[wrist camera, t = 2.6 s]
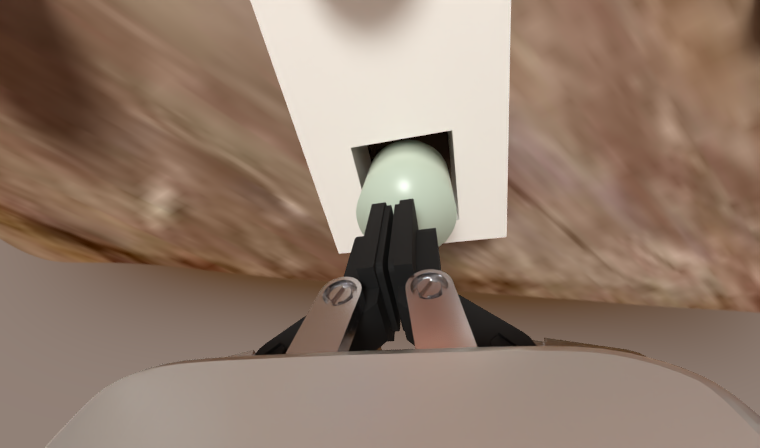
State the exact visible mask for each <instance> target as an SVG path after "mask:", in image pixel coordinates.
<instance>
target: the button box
mask: <svg viewBox="0 0 760 448" xmlns="http://www.w3.org/2000/svg"><path fill="white" fill-rule="evenodd" d="M250 1H251V3H252V6H253V9H254V12H255V15H256V18H257V21H258V23H259V26H260V29H261V32H262V35H263V38H264V41H265V44H266V46H267V49H268V52H269V55H270V58H271V61H272V64H273V66H274V69H275V72H276V75H277V78H278V81H279V84H280V86H281V89H282V92H283V95H284V98H285V101H286V104H287V106H288V109H289V112H290V115H291V118H292V121H293V124H294V126H295V129H296V132H297V135H298V138H299V141H300V144H301V147H302V149H303V152H304V155H305V158H306V161H307V164H308V167H309V169H310V172H311V175H312V178H313V181H314V184H315V187H316V189H317V192H318V195H319V198H320V201H321V204H322V207H323V209H324V212H325V215H326V218H327V221H328V224H329V227H330V229H331V232H332V235H333V238H334V241H335V244H336V247H337V250H338V252H339V254H340V253H350V252H351V250H352V247H353V243H354V240H355V238H356V237H359V236H364V235H363V234H362V232H361V230H360V228H359V225H358V223H357V218H356V207H357V203H358V199H359V197H360V194H361V191H362V188H363V185H364V182H365V180H366V177H367V174H368V171H369V168H370V165H371V159H370V155H369V150H368V146H367V145H370V144H375V143H381V142H387V141H393V140H399V139H404V138H410V137H416V136H422V135H428V134H433V133H439V132H445V131H448V143H449V154H450V166H451V177H452V190H453V194H454V199H455V204H456V210H457V219H456V224H455V227H454V229H453V231H452V233H451V235H450V236H449V238H448V239H447V240H446V241H445V242H444V243H450V242H460V241H471V240H481V239H491V238H501V237H506V235H507V182H508V129H509V75H510V22H511V0H250Z"/></svg>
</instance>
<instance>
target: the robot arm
mask: <svg viewBox="0 0 760 448" xmlns="http://www.w3.org/2000/svg"><path fill="white" fill-rule="evenodd" d="M400 319H401V323H402V327H403V330H404V331H405V334H406V338H407V340H408V341H410V342H411V343H412V344H413V345H414V346H415V349H404V350H382V349H381V346H382V345H383V344H384V343H385V342H387V341H394V334H395V331H399V330H400ZM45 448H760V416H759V415H758V414H757V413H755V412H754V411H753V410H752V409H751V408H750V407H748V406H747V405H746V404H745V403H743V402H742V401H741V400H740V399H738V398H737V397H736V396H734V395H733V394H732V393H730V392H729V391H727V390H726V389H724V388H722V387H721V386H720V385H718V384H716V383H715V382H713V381H711V380H709V379H707V378H705V377H703V376H701V375H699V374H697V373H694V372H692V371H689V370H686V369H684V368H682V367H679V366H676V365H673V364H670V363H666V362H664V361H660V360H656V359H652V358H648V357H646V356H644V355H642V354H640V353H637V352H634V351H630V350H626V349H619V348H611V347H605V346H598V345H591V344H584V343H577V342H570V341H563V340H556V339H550V338H544V342H542V341H535V340H532V339H531V338H530V337H529V336H527V335H526V334H525V333H523V332H522V331H520V330H519V329H517V328H515V327H513V326H512V325H510V324H508V323H507V322H505V321H503V320H501V319H500V318H498V317H496V316H494V315H493V314H491V313H489V312H488V311H486V310H484V309H483V308H481V307H479V306H477V305H476V304H474V303H472V302H471V301H469V300H467V299H465V298H464V297H462V296H460V295H458V294H457V291H456V288H455V286H454V283H453V280H452V279H451V277H450V276H449V275H448V274H446V273H445V272H443V271H441V265H440V256H439V248H438V240H437V232H436V228H429V229H421V230H419V228H418V222H417V216H416V210H415V204H414V199H405V200H400V201H399V204H395V207H394V214H393V210H392V206H391V205H387V204H386V202H383V203H376V204H372V206H371V210H370V214H369V217H368V221H367V225H366V229H365V233H364V236H359V237H356V238H355V240H354V243H353V247H352V250H351V254H350V257H349V260H348V264H347V267H346V271H345V274H344V277H340V278H337V279H334V280H332V281H330V282H328V283H327V284H326V285H325V286H323V288H322V289H321V291H320V292H319V294H318V296H317V298H316V299H315V301H314V303H313V305H312V307H311V308H310V310H309V312H308V314H307V315H306V316H305V317H303V318H302V319H300V320H299V321H298V322H296V323H295V324H293V325H292V326H290V327H289V328H288V329H286V330H285V331H283V332H282V333H280V334H279V335H278V336H276V337H275V338H273V339H272V340H270V341H269V342H267V343H266V344H265V345H264V346H262V347H261V348H260V349H259V350H258V351H257V353H255V351H254V350H251V351H247V352H243V353H240V354H235V355H232V356H228V357H219V358H205V359H194V360H184V361H179V362H172V363H167V364H162V365H159V366H155V367H151V368H148V369H145V370H142V371H140V372H137V373H135V374H132V375H129V376H127V377H125V378H122V379H120V380H118V381H116V382H115V383H113V384H111V385H109V386H107V387H106V388H105V389H103V390H102V391H100V392H99V393H98V394H96V395H95V396H94V397H93V398H92V399H91V400H90V401H89V402H88V403H87V404H86V405H85V406H84V407H83V408H82V409H80V411H78V412H77V413H76V415H74V417H72V418H71V419H70V421H69V422H68V423H67V424H66V425H65V426H64V427H63V428H62V429H61V430H60V431H59V432H58V433H57V434H56V435H55V437H54V438H53V439H52V440H51V441H50V442H49V443H48V444H47V445H46V447H45Z"/></svg>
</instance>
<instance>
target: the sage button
mask: <svg viewBox="0 0 760 448" xmlns="http://www.w3.org/2000/svg"><path fill="white" fill-rule="evenodd" d="M405 199H414V204H415V210H416V216H417V222H418V228H419V230H421V229H429V228H436V232H437V240H438V247H439V246H441V245H442V244H443V243H444V242H445V241H446V240H447V239H448V238H449V236H450V235H451V233H452V231H453V229H454V227H455V224H456V219H457V210H456V204H455V199H454V194H453V190H452V185H451V180H450V176H449V171H448V167H447V164H446V162H445V160H444V158H443V157H442V155H441V154H440V153H439V152H438V151H437V150H436V149H435V148H434V147H432V146H430V145H429V144H426V143H424V142H421V141H417V140H401V141H396V142H394V143H391V144H389V145H387V146H386V147H384V148H383V149H382V150H381V151H379V152H378V154H377V155H376V156H375V157H374V159H373V161H372V163H371V165H370V168H369V171H368V174H367V177H366V180H365V182H364V185H363V188H362V191H361V194H360V197H359V199H358V203H357V207H356V218H357V223H358V225H359V228H360V230H361V232H362V234H363V235H364V233H365V229H366V225H367V221H368V217H369V214H370V210H371V206H372V204H376V203H383V202H386V204H387V205H391V206H392V210H393V214H394V207H395V204H399V201H400V200H405Z"/></svg>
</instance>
